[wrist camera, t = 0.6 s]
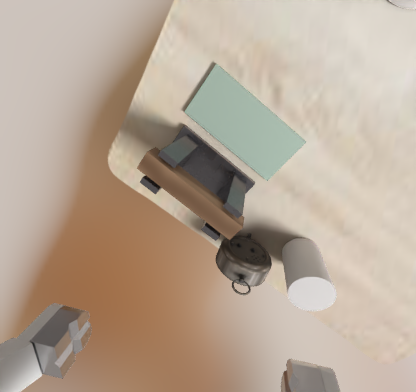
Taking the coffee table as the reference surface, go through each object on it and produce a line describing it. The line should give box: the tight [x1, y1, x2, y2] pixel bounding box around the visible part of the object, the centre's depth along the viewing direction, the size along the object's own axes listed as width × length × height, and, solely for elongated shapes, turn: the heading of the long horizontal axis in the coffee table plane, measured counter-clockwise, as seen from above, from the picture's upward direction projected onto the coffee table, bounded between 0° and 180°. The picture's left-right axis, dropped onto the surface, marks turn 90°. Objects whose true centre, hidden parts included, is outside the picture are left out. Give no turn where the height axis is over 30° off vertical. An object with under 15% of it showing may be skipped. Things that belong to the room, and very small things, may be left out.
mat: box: [185, 64, 306, 181], centre depth 44 cm, size 10×21×1 cm, turn 53°
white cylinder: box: [282, 238, 337, 311], centre depth 47 cm, size 8×8×12 cm
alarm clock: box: [216, 233, 272, 295], centre depth 47 cm, size 11×5×16 cm, turn 73°
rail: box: [137, 147, 244, 240], centre depth 37 cm, size 3×18×3 cm, turn 53°
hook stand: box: [140, 125, 255, 241], centre depth 42 cm, size 8×18×15 cm, turn 53°
